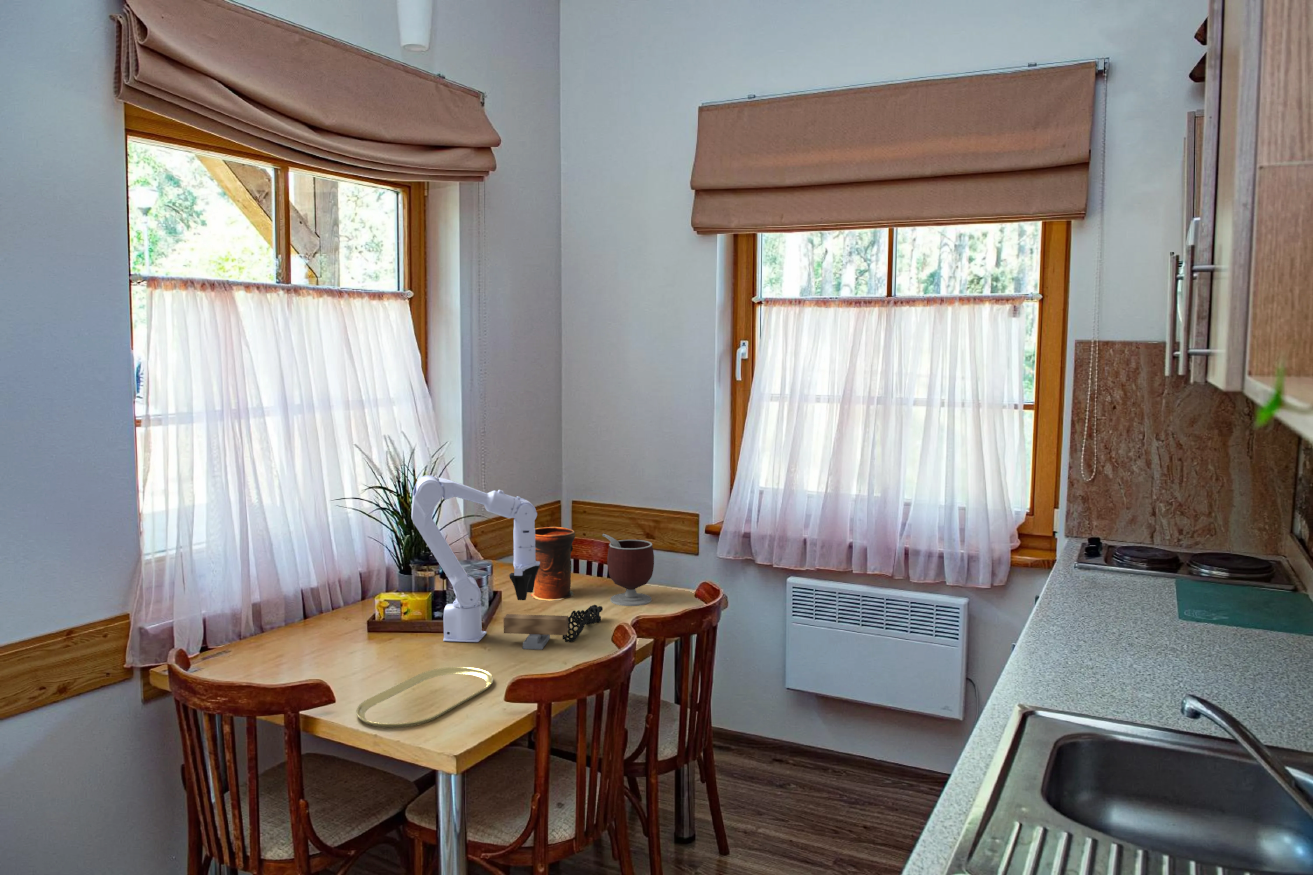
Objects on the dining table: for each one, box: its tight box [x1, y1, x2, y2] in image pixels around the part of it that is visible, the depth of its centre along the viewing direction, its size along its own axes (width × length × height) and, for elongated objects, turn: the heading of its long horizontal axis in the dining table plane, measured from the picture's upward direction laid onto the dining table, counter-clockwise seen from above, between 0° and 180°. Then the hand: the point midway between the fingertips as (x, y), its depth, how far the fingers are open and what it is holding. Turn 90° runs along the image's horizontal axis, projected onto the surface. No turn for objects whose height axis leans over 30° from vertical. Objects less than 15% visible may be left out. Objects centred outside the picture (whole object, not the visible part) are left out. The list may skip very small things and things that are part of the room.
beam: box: [503, 613, 569, 636], centre depth 244 cm, size 16×4×4 cm, turn 84°
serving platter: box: [355, 666, 494, 729], centre depth 208 cm, size 19×35×2 cm, turn 155°
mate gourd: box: [602, 533, 655, 607], centre depth 285 cm, size 16×14×20 cm
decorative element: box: [562, 604, 604, 643], centre depth 256 cm, size 22×5×6 cm, turn 165°
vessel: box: [530, 526, 576, 602], centre depth 291 cm, size 14×14×20 cm
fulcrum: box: [522, 634, 551, 650], centre depth 245 cm, size 5×9×3 cm, turn 174°
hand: (525, 595), depth 253 cm, fingers open, 7 cm apart
